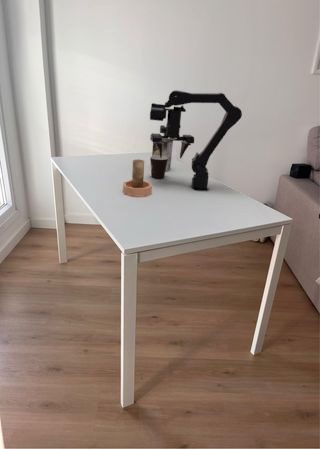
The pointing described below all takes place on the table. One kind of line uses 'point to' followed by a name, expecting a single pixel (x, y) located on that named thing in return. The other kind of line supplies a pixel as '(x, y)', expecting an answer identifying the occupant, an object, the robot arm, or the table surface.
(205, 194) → the table surface
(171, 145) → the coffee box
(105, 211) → the table surface
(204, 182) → the robot arm
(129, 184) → the terracotta dish
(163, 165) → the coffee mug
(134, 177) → the walnut peg
